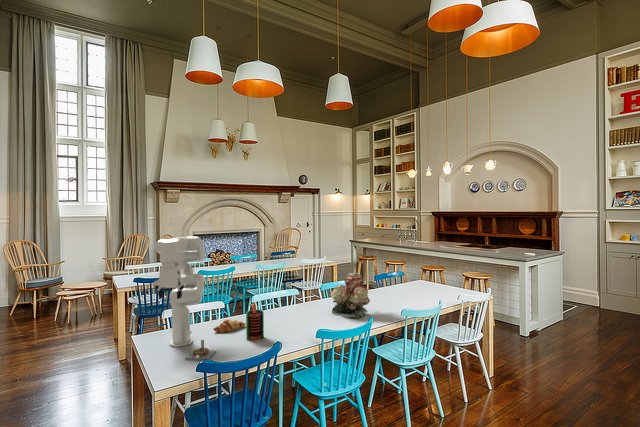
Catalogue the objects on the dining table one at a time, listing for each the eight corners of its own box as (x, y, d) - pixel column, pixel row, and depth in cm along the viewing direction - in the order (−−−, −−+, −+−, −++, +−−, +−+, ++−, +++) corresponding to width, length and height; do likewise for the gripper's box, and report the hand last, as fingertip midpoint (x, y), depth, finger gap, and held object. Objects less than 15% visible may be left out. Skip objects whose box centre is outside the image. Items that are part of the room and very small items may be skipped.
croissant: (244, 330, 232) (242, 318, 235) (249, 327, 225) (247, 314, 228) (212, 336, 220) (210, 324, 223) (216, 333, 213) (214, 320, 216)
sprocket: (196, 350, 189) (196, 339, 188) (210, 350, 188) (210, 339, 188) (190, 356, 181) (190, 345, 181) (205, 356, 180) (205, 345, 180)
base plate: (193, 351, 190) (193, 348, 190) (215, 351, 189) (215, 348, 189) (185, 359, 180) (185, 355, 180) (209, 359, 179) (209, 355, 179)
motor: (249, 342, 203) (248, 307, 202) (244, 337, 210) (243, 304, 210) (265, 338, 208) (265, 304, 208) (259, 334, 216) (259, 301, 215)
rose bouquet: (326, 315, 252) (325, 273, 251) (350, 306, 274) (349, 268, 274) (355, 322, 235) (355, 277, 235) (378, 312, 257) (378, 271, 257)
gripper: (189, 264, 183) (189, 296, 184) (157, 264, 185) (158, 296, 185) (182, 266, 176) (182, 300, 176) (149, 266, 177) (150, 300, 178)
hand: (170, 298), depth 181 cm, fingers open, 9 cm apart
